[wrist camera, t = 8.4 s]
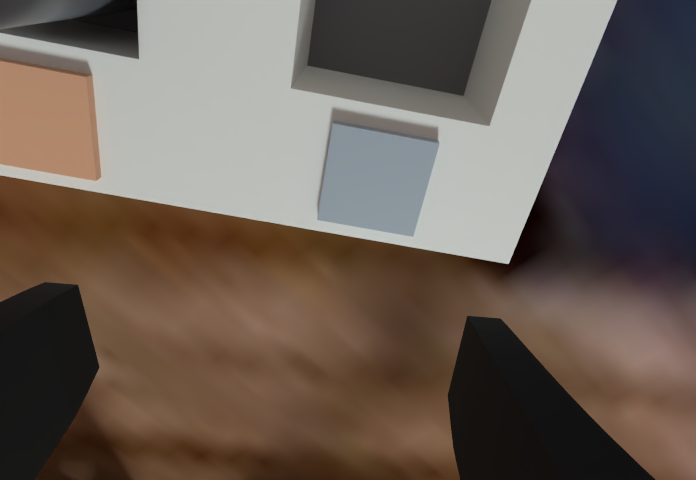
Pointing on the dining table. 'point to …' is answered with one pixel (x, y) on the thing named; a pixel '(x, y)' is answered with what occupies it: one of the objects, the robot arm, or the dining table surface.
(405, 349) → the dining table surface
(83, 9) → the peg
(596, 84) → the dining table surface
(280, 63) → the socket block
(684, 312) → the dining table surface
